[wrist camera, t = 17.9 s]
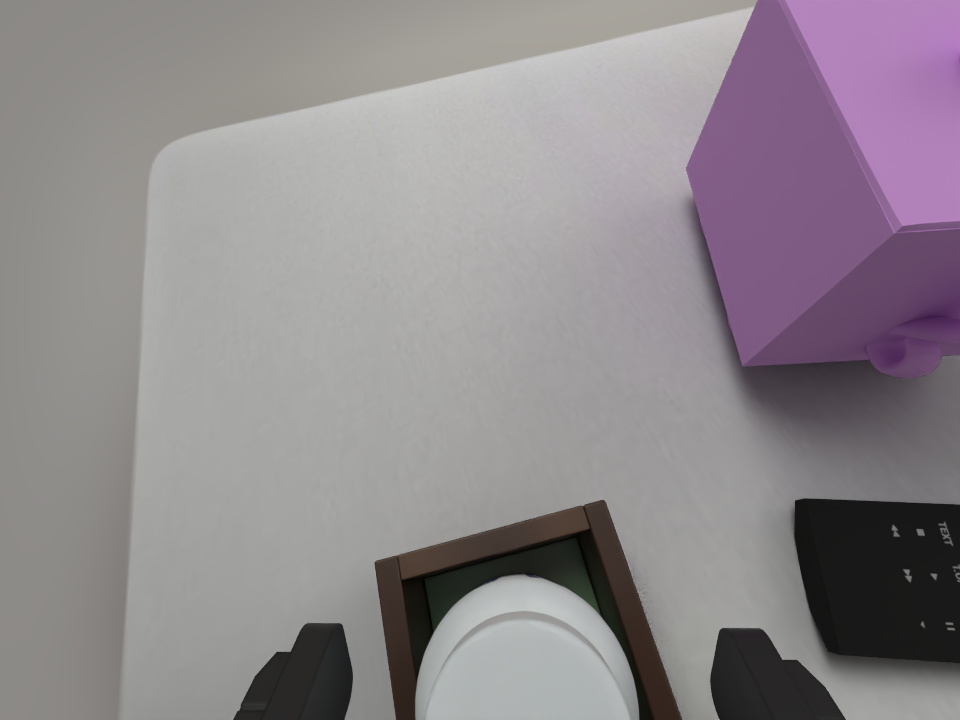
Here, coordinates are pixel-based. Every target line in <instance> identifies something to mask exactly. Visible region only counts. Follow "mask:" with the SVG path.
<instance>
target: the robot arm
mask: <svg viewBox="0 0 960 720" xmlns="http://www.w3.org/2000/svg"><path fill="white" fill-rule="evenodd" d="M352 682H353V672H352V666H351V661H350V657H349V652H348V647H347V643H346V638H345V633H344V629H343V626H342V624H340V623H307V624H305V625H304V626H303V628H302V629H301V631H300V633H299V635H298V637H297V639H296V641H295V644H294V646H293V648H292V650H291V652H276V654H275V655H274V656H273V657H272V658H271V659H270V660H269V661H268V663H267V664H266V665H265V666H264V667H263V668H262V669H261V670H260V671H259V673H258V674H257V675H256V676H255V678H254V680H253V682H252V684H251V686H250V688H249V690H248V692H247V694H246V696H245V698H244V700H243V701H242V703H241V708H240V710H239V711H237V713H236V715H235V717H234V719H233V720H344V719H345V716H346V712H347V709H348V705H349V702H350V697H351V691H352ZM710 682H711V692H712V697H713V702H714V705H715V709H716V712H717V714H718V717H719V719H720V720H846V719H845V718H844V716H843V714H842V713H841V711H840V710H839V708H838V707H837V705H836V703H835V702H834V700H833V699H832V697H831V696H830V694H829V692H828V691H827V689H826V688H825V687H824V686H823V685H822V684H821V683H820V682H819V681H818V680H817V679H816V678H815V677H814V676H813V675H812V674H811V673H810V672H809V671H808V670H807V669H806V668H805V667H804V666H803V665H802V664H801V663H800V662H799V661H797V660H782V659H781V657H780V655H779V653H778V652H777V650H776V648H775V647H774V645H773V643H772V641H771V640H770V638H769V637H768V635H767V634H766V633H765V632H764V631H763V630H762V629H759V628H722V629H721V630H720V631H719V635H718V640H717V645H716V651H715V656H714V661H713V666H712V671H711V679H710Z"/></svg>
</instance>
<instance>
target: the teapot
mask: <svg viewBox="0 0 960 720" xmlns="http://www.w3.org/2000/svg"><path fill="white" fill-rule="evenodd" d="M686 170H687V174H688V178H689V181H690V185H691V188H692V192H693V195H694V199H695V203H696V206H697V210H698V213H699V217H700V220H701V222H700V226H701V230H702V232H703V233H704V235H705V238H706V241H707V245H708V248H709V252H710V255H711V259H712V262H713V266H714V269H715V273H716V276H717V280H718V283H719V287H720V290H721V294H722V297H723V301H724V304H725V307H726V311H727V314H728V326H729V328H730V330H731V332H732V333H733V335H734V339H735V342H736V346H737V349H738V352H739V356H740V359H741V363H742V366H762V365H781V364H799V363H817V362H836V361H856V360H870V361H871V363H872V364H873V366H874V367H875V368H876V369H877V370H878V371H880V372H882V373H884V374H886V375H889V376H893V377H897V378H917V377H921V376H924V375H926V374H928V373H931V372H932V371H934V369H935V368H936V367H937V366H938V365H939V363H940V360H941V356H950V355H960V0H758V1H757V3H756V5H755V8H754V10H753V12H752V15H751V17H750V19H749V22H748V24H747V26H746V29H745V31H744V33H743V36H742V38H741V41H740V43H739V45H738V48H737V50H736V52H735V55H734V57H733V59H732V62H731V64H730V66H729V69H728V71H727V73H726V76H725V78H724V80H723V83H722V85H721V87H720V90H719V92H718V94H717V97H716V99H715V101H714V104H713V106H712V108H711V111H710V113H709V115H708V118H707V120H706V122H705V125H704V127H703V129H702V132H701V134H700V136H699V139H698V141H697V144H696V146H695V148H694V151H693V153H692V155H691V158H690V160H689V162H688V165H687V167H686Z"/></svg>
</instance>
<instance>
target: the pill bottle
mask: <svg viewBox="0 0 960 720" xmlns="http://www.w3.org/2000/svg"><path fill="white" fill-rule="evenodd" d="M415 719H416V720H639V707H638V700H637V693H636V688H635V683H634V679H633V676H632V672H631V669H630V666H629V663H628V661H627V658H626V656H625V654H624V652H623V650H622V648H621V646H620V644H619V642H618V640H617V638H616V637H615V635H614V633H613V632H612V630H611V629H610V628H609V626H608V625H607V623H606V622H605V621H604V620H603V619H602V617H601V616H600V615H599V614H598V613H597V612H596V610H595V609H594V608H593V607H591V606H590V605H589V604H588V603H587V602H586V601H585V600H583V599H582V598H581V597H579V596H578V595H576V594H575V593H573V592H572V591H570V590H569V589H567V588H565V587H563V586H561V585H558V584H556V583H554V582H551V581H549V580H547V579H544V578H542V577H539V576H536V575H531V574H525V573H522V574H514V575H506V576H501V577H498V578H495V579H492V580H490V581H488V582H486V583H484V584H482V585H481V586H479V587H478V588H476V589H474V590H473V591H471V592H470V593H468V594H467V595H465V596H464V597H463V598H462V599H460V600H459V601H458V602H457V603H456V604H455V605H454V606H453V607H452V608H451V609H450V610H449V611H448V613H447V614H446V615H445V617H444V618H443V619H442V621H441V622H440V623H439V625H438V627H437V629H436V630H435V632H434V634H433V636H432V638H431V640H430V642H429V644H428V646H427V648H426V651H425V653H424V656H423V660H422V663H421V666H420V670H419V675H418V680H417V687H416V696H415Z"/></svg>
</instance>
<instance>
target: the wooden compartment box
mask: <svg viewBox="0 0 960 720" xmlns="http://www.w3.org/2000/svg"><path fill="white" fill-rule="evenodd" d="M375 569H376V577H377V584H378V591H379V598H380V606H381V613H382V620H383V627H384V635H385V642H386V649H387V656H388V664H389V671H390V678H391V685H392V693H393V700H394V707H395V714H396V720H416V719H415V696H416V687H417V680H418V675H419V670H420V666H421V663H422V660H423V656H424V653H425V651H426V648H427V646H428V644H429V642H430V640H431V638H432V636H433V634H434V632H435V630H436V629H437V627H438V625H439V623H440V622H441V621H442V619H443V618H444V617H445V615H446V614H447V613H448V611H449V610H450V609H451V608H452V607H453V606H454V605H455V604H456V603H457V602H458V601H459V600H460V599H462V598H463V597H464V596H465V595H467V594H468V593H470V592H471V591H473V590H474V589H476V588H478V587H479V586H481V585H482V584H484V583H486V582H488V581H490V580H492V579H495V578H498V577H501V576H506V575H514V574H522V573H525V574H531V575H536V576H539V577H542V578H544V579H547V580H549V581H551V582H554V583H556V584H558V585H561V586H563V587H565V588H567V589H569V590H570V591H572V592H573V593H575V594H576V595H578V596H579V597H581V598H582V599H583V600H585V601H586V602H587V603H588V604H589V605H590V606H591V607H593V608H594V609H595V610H596V612H597V613H598V614H599V615H600V616H601V617H602V619H603V620H604V621H605V622H606V623H607V625H608V626H609V628H610V629H611V630H612V632H613V633H614V635H615V637H616V638H617V640H618V642H619V644H620V646H621V648H622V650H623V652H624V654H625V656H626V658H627V661H628V663H629V666H630V669H631V672H632V676H633V679H634V683H635V688H636V693H637V700H638V707H639V720H682V718H681V715H680V712H679V710H678V707H677V704H676V701H675V698H674V695H673V692H672V690H671V687H670V684H669V681H668V678H667V675H666V673H665V670H664V667H663V664H662V661H661V658H660V655H659V653H658V650H657V647H656V644H655V641H654V638H653V635H652V633H651V630H650V627H649V624H648V621H647V618H646V616H645V613H644V610H643V607H642V604H641V601H640V598H639V596H638V593H637V590H636V587H635V584H634V581H633V578H632V576H631V573H630V570H629V567H628V564H627V561H626V559H625V556H624V553H623V550H622V547H621V544H620V541H619V539H618V536H617V533H616V530H615V527H614V524H613V521H612V519H611V516H610V513H609V510H608V507H607V504H606V502H605V501H604V500H600V501H596V502H593V503H589V504H585V505H584V506H578V507H574V508H570V509H566V510H563V511H559V512H555V513H552V514H548V515H544V516H541V517H537V518H533V519H529V520H526V521H522V522H518V523H515V524H511V525H507V526H504V527H500V528H496V529H492V530H489V531H485V532H481V533H478V534H474V535H470V536H467V537H463V538H459V539H456V540H452V541H448V542H444V543H441V544H437V545H433V546H430V547H426V548H422V549H419V550H415V551H411V552H407V553H404V554H400V555H398V556H393V557H389V558H385V559H382V560H378V561H376V562H375Z"/></svg>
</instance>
